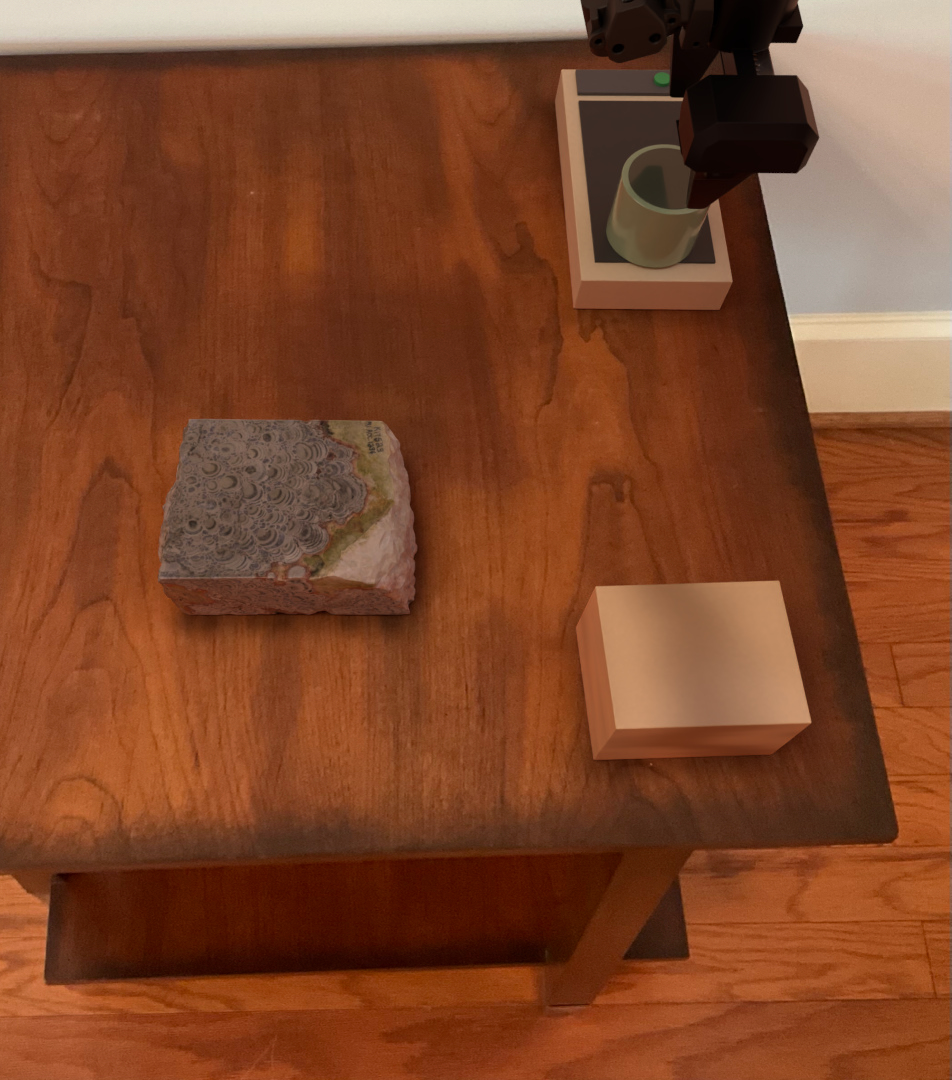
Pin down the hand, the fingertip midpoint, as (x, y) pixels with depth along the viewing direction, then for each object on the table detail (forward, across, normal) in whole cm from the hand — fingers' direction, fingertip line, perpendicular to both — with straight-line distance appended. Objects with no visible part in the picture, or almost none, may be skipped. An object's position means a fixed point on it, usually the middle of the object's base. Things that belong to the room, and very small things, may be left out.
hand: (686, 149), depth 66 cm
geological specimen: (+11, +21, -24) cm, 34 cm away
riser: (+11, +30, -1) cm, 33 cm away
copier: (+11, -7, 0) cm, 13 cm away
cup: (+8, -1, 0) cm, 8 cm away
